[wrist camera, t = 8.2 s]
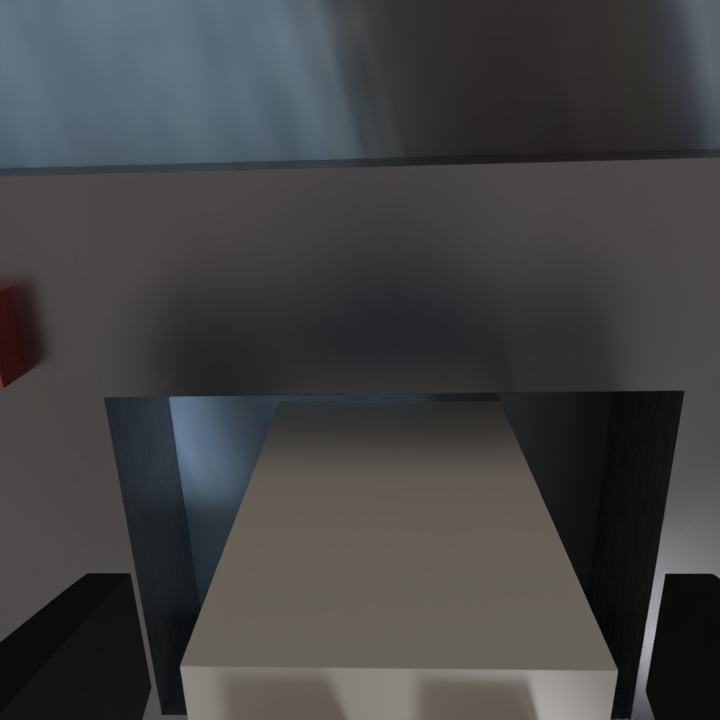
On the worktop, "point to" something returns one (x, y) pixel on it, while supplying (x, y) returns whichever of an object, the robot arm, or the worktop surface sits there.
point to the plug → (395, 578)
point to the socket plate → (351, 348)
